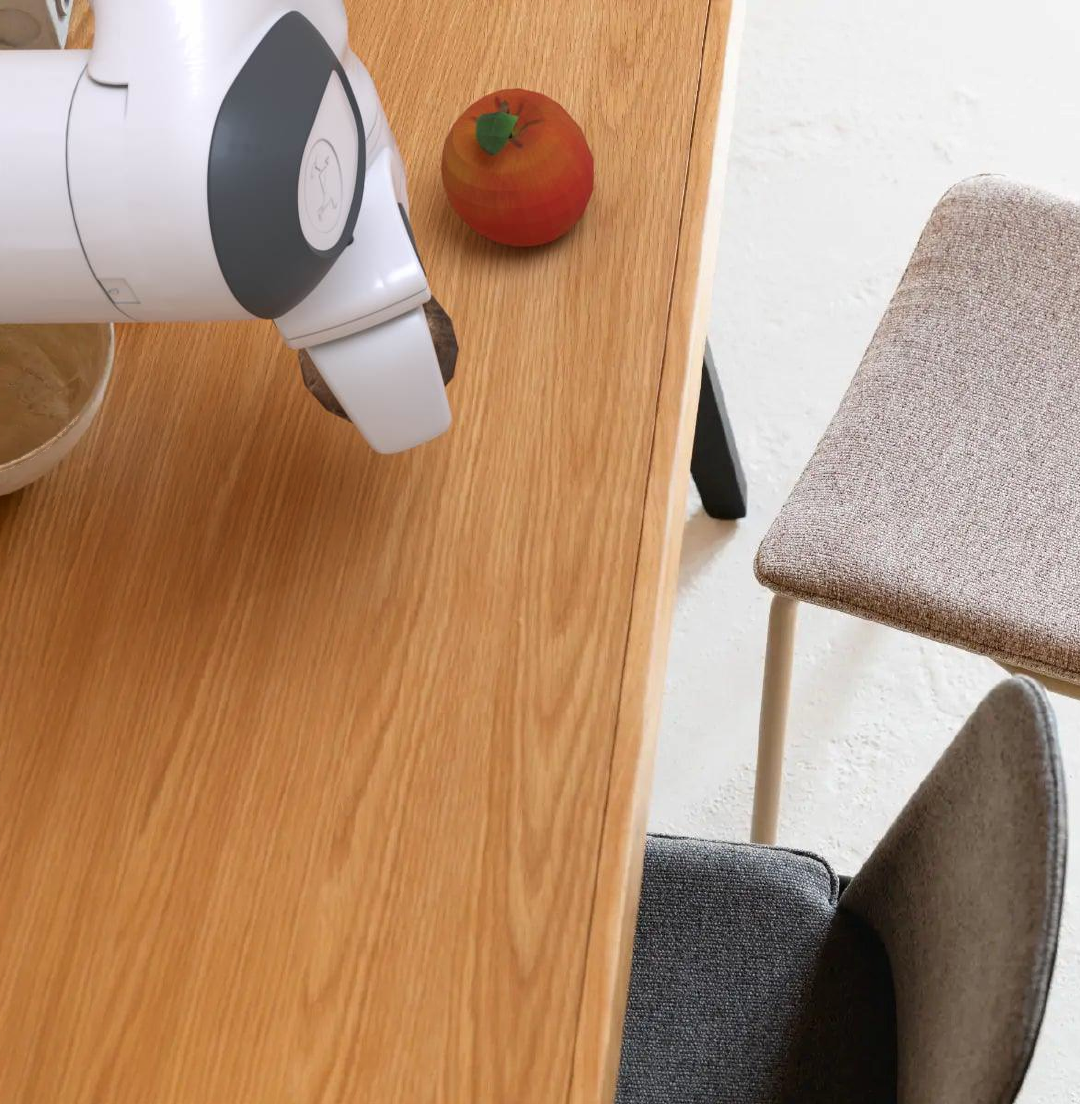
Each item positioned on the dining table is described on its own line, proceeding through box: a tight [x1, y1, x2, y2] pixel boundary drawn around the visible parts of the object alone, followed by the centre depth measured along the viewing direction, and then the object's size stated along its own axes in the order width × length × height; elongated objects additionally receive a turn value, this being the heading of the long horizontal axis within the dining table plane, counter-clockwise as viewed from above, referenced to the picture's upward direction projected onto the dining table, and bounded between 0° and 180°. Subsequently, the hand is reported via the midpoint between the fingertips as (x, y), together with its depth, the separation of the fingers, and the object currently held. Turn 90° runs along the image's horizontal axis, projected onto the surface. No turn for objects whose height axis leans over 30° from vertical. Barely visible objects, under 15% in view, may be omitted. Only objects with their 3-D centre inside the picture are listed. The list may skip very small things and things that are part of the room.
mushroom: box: [297, 294, 459, 424], centre depth 77 cm, size 8×8×6 cm
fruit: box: [440, 87, 595, 248], centre depth 93 cm, size 10×10×10 cm
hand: (384, 358), depth 77 cm, fingers closed on mushroom, 7 cm apart
